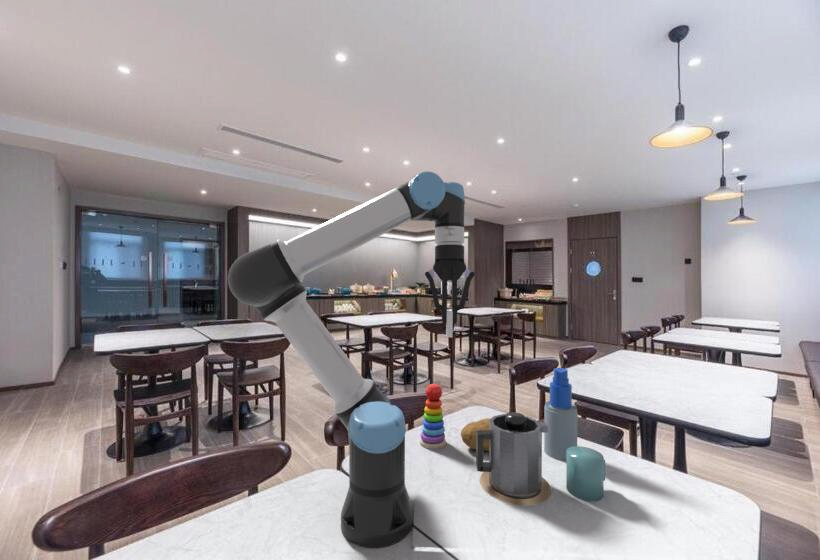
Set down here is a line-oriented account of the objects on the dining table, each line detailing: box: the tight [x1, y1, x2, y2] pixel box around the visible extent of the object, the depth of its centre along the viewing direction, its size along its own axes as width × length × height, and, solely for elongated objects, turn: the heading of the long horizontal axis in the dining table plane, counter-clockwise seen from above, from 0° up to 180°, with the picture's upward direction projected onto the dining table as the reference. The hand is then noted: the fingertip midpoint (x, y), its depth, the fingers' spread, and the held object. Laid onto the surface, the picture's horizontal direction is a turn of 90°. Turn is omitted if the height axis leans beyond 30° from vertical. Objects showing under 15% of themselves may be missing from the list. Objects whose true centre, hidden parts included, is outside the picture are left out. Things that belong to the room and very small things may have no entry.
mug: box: [565, 445, 606, 502], centre depth 87 cm, size 10×8×10 cm
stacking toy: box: [419, 383, 447, 450], centre depth 112 cm, size 8×8×19 cm
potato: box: [460, 417, 492, 452], centre depth 109 cm, size 9×16×9 cm, turn 88°
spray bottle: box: [543, 367, 578, 462], centre depth 106 cm, size 9×9×25 cm
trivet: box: [479, 472, 553, 507], centre depth 90 cm, size 17×17×1 cm
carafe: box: [475, 413, 548, 499], centre depth 90 cm, size 17×12×15 cm
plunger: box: [505, 411, 525, 432], centre depth 90 cm, size 9×9×12 cm
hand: (449, 336), depth 94 cm, fingers closed
